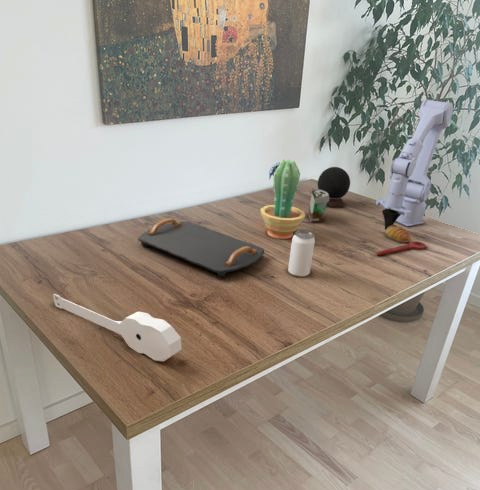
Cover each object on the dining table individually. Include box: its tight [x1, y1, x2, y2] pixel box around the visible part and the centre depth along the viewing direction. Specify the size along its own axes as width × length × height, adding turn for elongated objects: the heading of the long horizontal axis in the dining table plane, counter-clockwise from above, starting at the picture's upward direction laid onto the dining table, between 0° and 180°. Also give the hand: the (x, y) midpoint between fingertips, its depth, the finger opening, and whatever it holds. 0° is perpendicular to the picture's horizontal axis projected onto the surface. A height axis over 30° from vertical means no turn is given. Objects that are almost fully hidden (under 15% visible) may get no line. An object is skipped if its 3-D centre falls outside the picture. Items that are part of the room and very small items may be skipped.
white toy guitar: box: [52, 293, 182, 362], centre depth 107 cm, size 38×8×4 cm
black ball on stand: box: [317, 166, 351, 209], centre depth 198 cm, size 13×13×15 cm
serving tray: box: [137, 218, 265, 280], centre depth 148 cm, size 39×23×6 cm, turn 53°
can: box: [287, 230, 316, 278], centre depth 139 cm, size 6×6×12 cm
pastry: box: [384, 224, 411, 243], centre depth 171 cm, size 9×7×4 cm
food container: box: [308, 187, 329, 224], centre depth 181 cm, size 12×6×10 cm, turn 179°
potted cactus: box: [260, 159, 306, 240], centre depth 161 cm, size 15×15×25 cm
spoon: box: [376, 241, 427, 257], centre depth 162 cm, size 23×5×2 cm, turn 122°
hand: (387, 229), depth 175 cm, fingers closed
